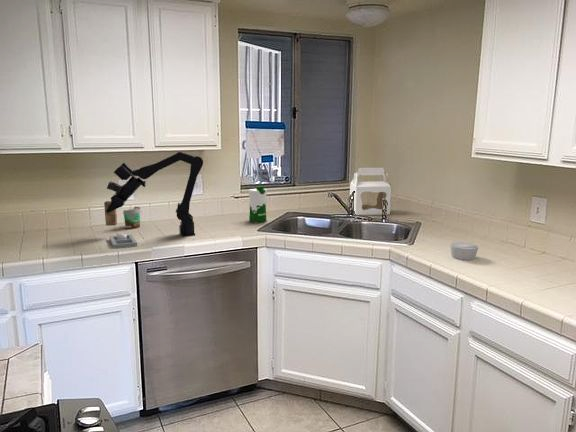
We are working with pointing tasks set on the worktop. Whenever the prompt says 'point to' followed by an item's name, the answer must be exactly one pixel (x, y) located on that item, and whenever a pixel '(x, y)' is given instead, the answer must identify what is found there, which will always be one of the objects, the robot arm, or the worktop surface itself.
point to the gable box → (371, 186)
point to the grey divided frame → (123, 241)
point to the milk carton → (257, 204)
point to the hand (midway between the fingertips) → (107, 211)
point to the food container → (132, 218)
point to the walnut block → (110, 215)
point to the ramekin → (463, 250)
